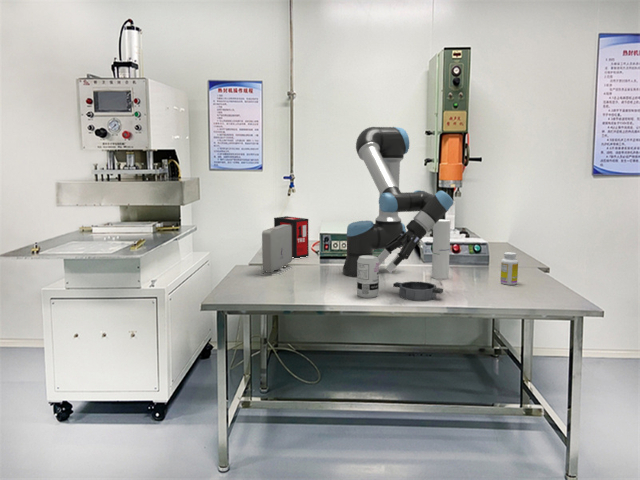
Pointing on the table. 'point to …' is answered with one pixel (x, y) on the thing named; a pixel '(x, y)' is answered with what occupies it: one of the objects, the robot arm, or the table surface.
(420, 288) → the cooker pot
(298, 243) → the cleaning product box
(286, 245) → the network device
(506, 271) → the supplement bottle
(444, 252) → the cylindrical container
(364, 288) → the supplement can
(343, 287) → the table surface
